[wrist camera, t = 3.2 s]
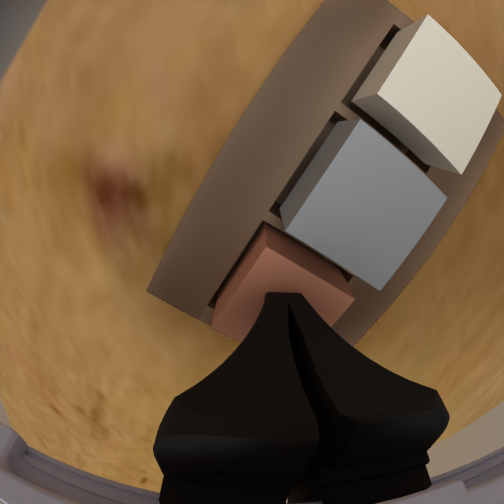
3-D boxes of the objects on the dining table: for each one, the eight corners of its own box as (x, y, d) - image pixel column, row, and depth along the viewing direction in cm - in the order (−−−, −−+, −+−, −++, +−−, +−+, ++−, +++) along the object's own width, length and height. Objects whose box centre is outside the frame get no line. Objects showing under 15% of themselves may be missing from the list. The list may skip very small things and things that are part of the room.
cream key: (463, 96, 9) (501, 95, 6) (425, 163, 10) (461, 174, 8) (396, 32, 8) (427, 14, 6) (351, 101, 9) (377, 93, 7)
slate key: (413, 182, 10) (447, 197, 8) (358, 259, 12) (379, 291, 9) (337, 121, 10) (360, 119, 7) (279, 208, 11) (285, 230, 9)
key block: (472, 121, 12) (506, 123, 9) (314, 341, 17) (322, 376, 14) (331, 0, 10) (347, -26, 7) (164, 263, 15) (146, 291, 13)
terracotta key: (339, 268, 13) (355, 299, 11) (289, 330, 14) (294, 366, 12) (264, 223, 12) (266, 246, 10) (218, 293, 14) (210, 327, 11)
